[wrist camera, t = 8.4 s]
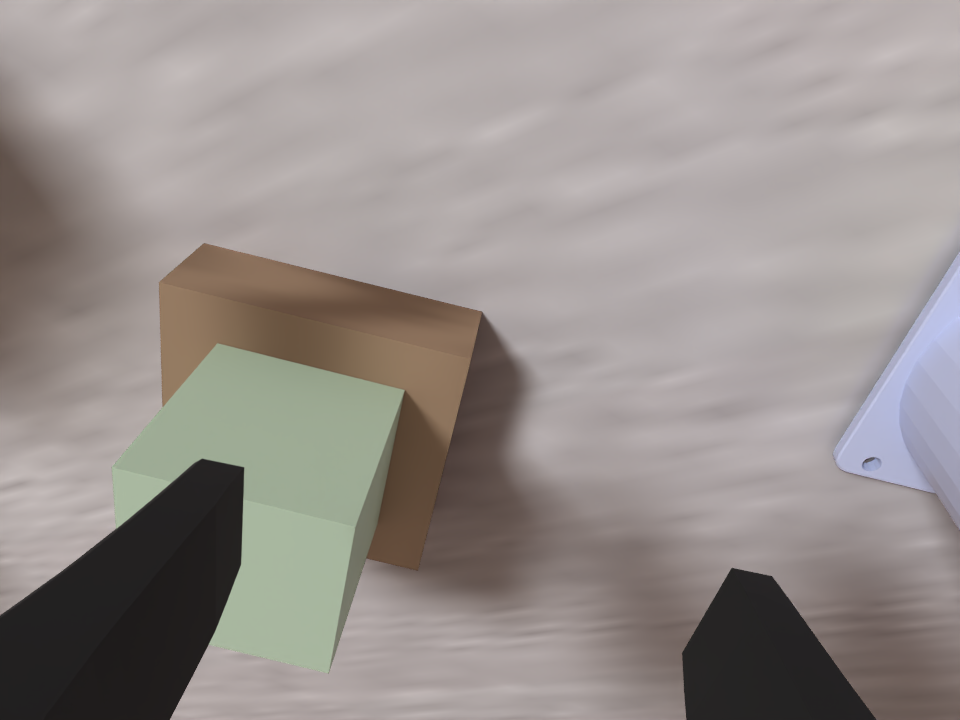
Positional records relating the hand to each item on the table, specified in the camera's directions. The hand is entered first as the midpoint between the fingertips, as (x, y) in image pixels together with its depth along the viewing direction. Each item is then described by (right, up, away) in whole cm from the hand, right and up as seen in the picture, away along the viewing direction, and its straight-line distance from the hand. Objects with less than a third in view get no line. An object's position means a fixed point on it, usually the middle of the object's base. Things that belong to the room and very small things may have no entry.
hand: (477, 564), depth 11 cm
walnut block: (-5, +2, +12) cm, 13 cm away
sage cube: (-5, +1, +9) cm, 11 cm away
